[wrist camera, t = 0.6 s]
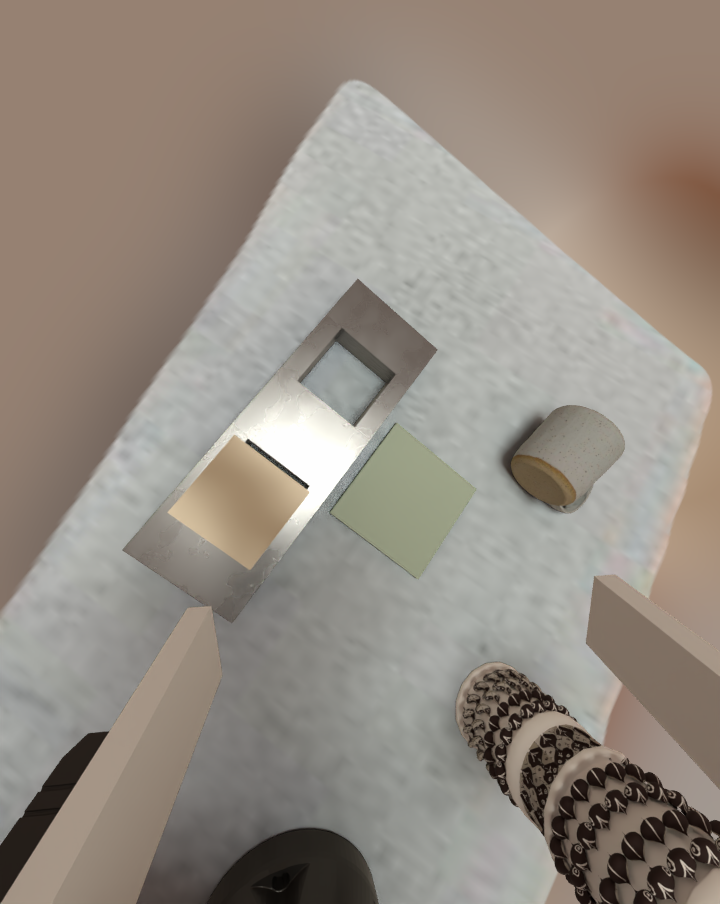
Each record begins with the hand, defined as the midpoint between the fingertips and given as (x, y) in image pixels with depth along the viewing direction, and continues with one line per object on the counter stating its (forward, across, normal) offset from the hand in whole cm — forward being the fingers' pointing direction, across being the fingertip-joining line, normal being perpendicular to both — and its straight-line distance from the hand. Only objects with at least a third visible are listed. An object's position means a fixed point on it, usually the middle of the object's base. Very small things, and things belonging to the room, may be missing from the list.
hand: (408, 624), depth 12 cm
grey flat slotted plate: (+22, +6, -2) cm, 23 cm away
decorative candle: (+18, -12, +25) cm, 33 cm away
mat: (+22, -4, +4) cm, 23 cm away
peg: (+20, +10, +2) cm, 23 cm away
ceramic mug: (+26, -21, +3) cm, 34 cm away
